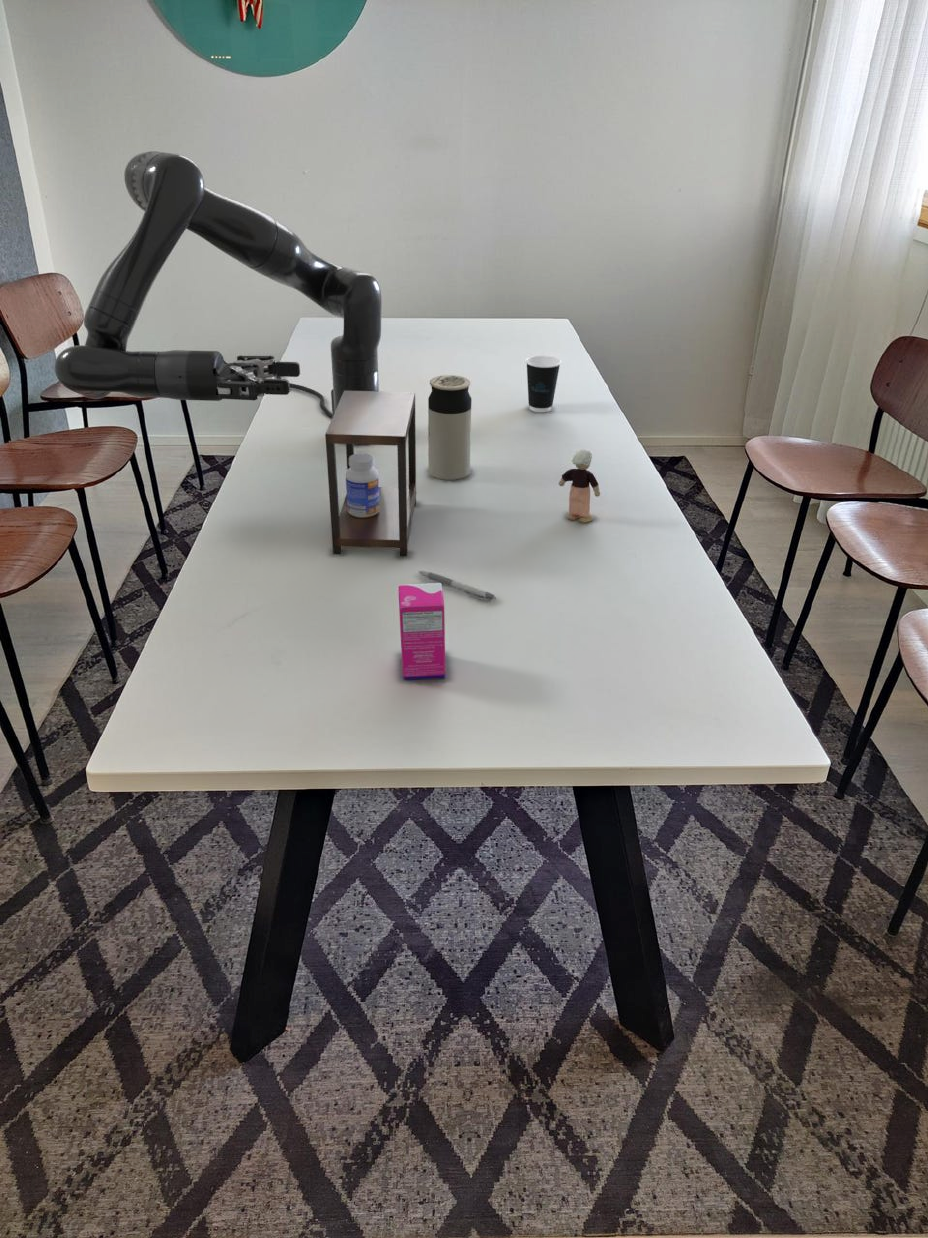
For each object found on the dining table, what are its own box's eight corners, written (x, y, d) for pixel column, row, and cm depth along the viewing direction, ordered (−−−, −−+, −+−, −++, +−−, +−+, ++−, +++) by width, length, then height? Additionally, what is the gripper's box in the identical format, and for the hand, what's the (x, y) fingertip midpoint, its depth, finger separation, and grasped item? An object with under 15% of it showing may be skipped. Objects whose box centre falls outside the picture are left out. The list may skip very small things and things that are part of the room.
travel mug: (476, 469, 177) (478, 378, 168) (459, 484, 171) (460, 390, 162) (439, 461, 180) (440, 371, 170) (421, 476, 174) (420, 383, 164)
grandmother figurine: (600, 516, 161) (608, 448, 154) (596, 525, 158) (603, 457, 151) (558, 509, 163) (563, 442, 156) (553, 518, 160) (558, 450, 153)
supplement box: (399, 655, 124) (398, 582, 118) (443, 654, 124) (444, 581, 118) (401, 681, 119) (399, 606, 113) (446, 679, 119) (447, 605, 113)
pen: (493, 604, 136) (494, 596, 135) (416, 577, 142) (416, 570, 141) (497, 601, 136) (497, 593, 136) (420, 575, 143) (420, 567, 142)
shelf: (333, 554, 147) (325, 434, 136) (349, 501, 164) (344, 390, 153) (407, 556, 147) (405, 436, 136) (416, 503, 164) (415, 392, 153)
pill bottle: (374, 520, 151) (372, 465, 146) (343, 516, 152) (340, 462, 147) (383, 506, 156) (381, 452, 151) (353, 502, 157) (350, 449, 151)
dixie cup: (532, 416, 203) (535, 367, 197) (516, 405, 209) (519, 357, 203) (563, 412, 205) (567, 363, 199) (547, 401, 211) (551, 353, 205)
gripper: (173, 365, 134) (283, 368, 134) (200, 338, 146) (300, 340, 146) (181, 414, 138) (287, 417, 138) (206, 384, 150) (304, 386, 150)
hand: (294, 377), depth 142 cm, fingers open, 8 cm apart
